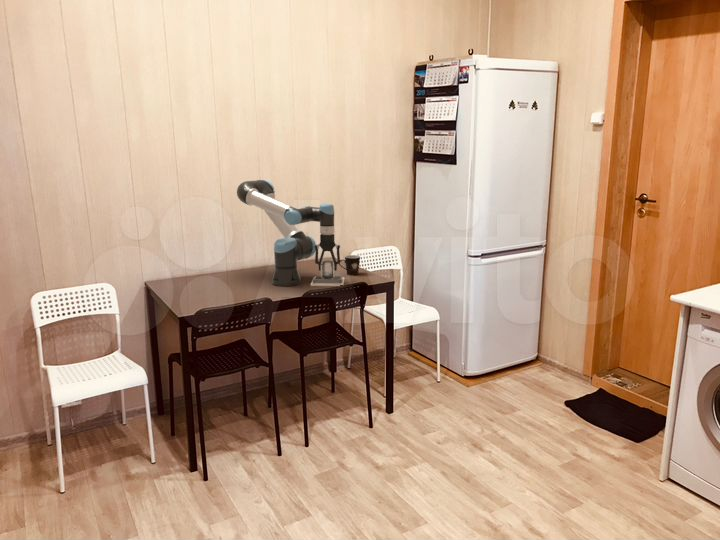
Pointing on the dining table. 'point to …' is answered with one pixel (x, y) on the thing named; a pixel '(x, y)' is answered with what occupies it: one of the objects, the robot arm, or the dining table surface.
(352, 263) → the coffee mug
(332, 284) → the grey flat tray
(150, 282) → the dining table surface
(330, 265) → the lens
